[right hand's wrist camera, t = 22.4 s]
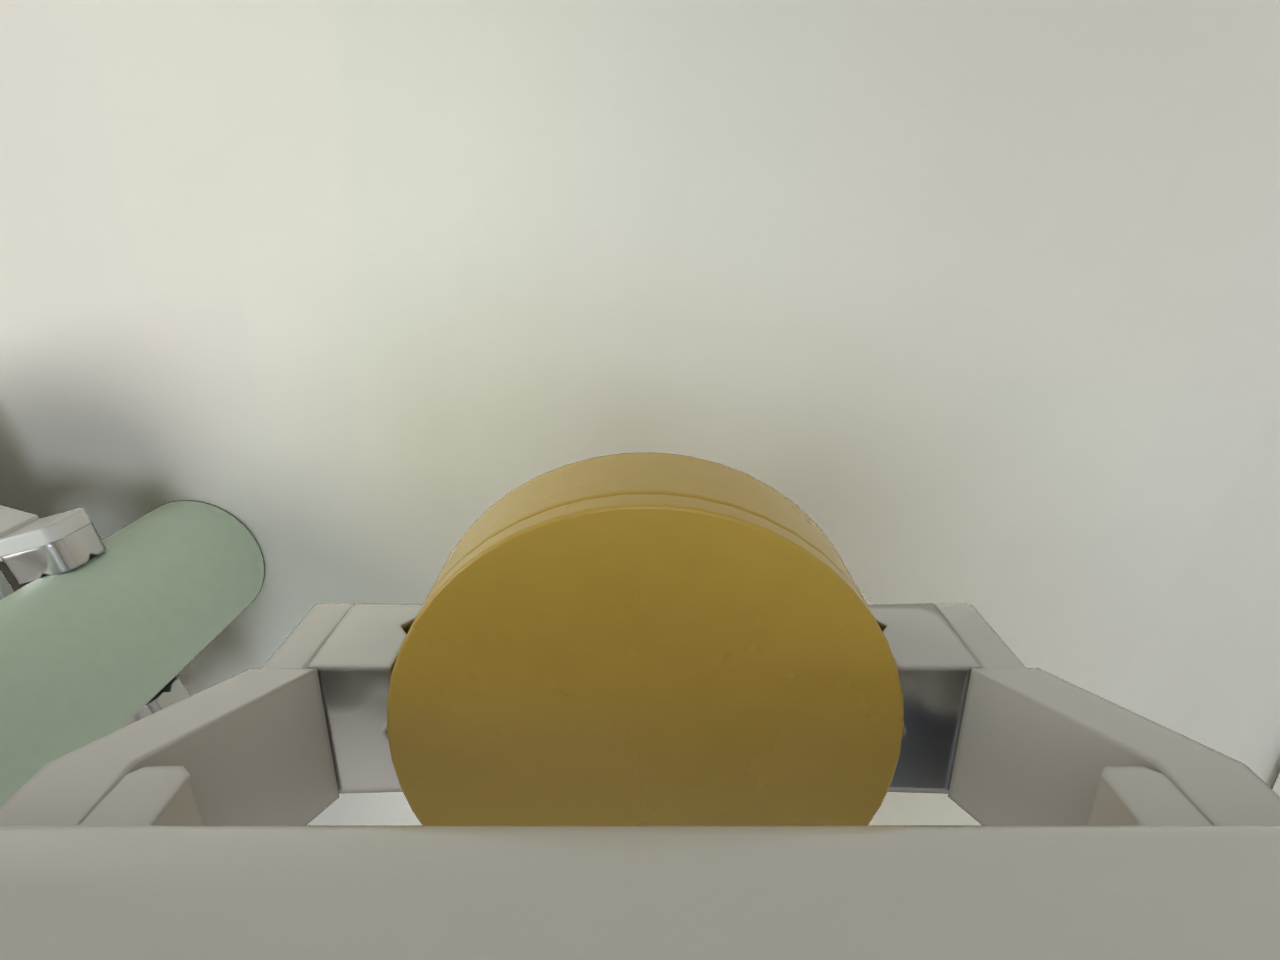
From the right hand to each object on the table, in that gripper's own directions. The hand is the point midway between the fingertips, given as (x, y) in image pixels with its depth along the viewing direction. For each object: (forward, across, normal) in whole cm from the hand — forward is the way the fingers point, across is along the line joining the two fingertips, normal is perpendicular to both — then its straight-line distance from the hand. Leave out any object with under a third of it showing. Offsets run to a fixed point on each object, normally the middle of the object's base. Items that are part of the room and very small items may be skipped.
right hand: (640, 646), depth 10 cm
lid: (-2, 0, 0) cm, 2 cm away
